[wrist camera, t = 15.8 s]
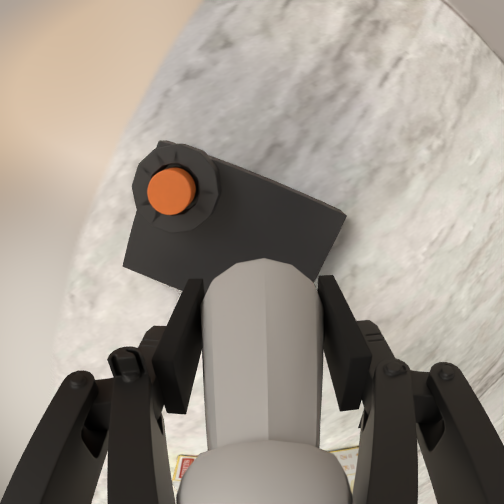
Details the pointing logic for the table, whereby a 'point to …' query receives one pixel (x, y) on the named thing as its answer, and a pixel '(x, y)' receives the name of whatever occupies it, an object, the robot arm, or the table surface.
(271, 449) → the salt shaker
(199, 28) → the table surface
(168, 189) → the button
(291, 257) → the scale
